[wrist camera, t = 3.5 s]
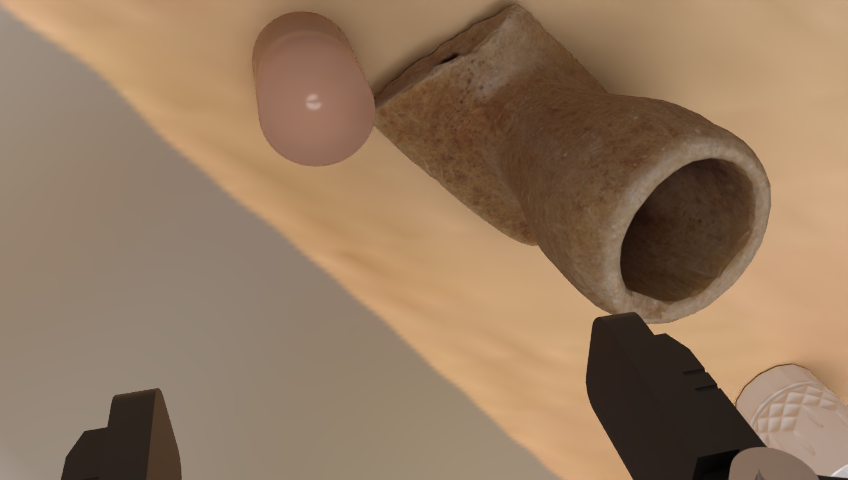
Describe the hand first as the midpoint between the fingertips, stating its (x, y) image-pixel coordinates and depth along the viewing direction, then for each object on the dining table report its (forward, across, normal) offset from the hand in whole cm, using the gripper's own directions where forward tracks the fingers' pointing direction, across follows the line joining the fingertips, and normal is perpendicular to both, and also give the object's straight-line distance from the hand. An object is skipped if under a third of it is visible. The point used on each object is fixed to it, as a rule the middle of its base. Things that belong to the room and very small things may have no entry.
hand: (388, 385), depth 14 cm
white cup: (+28, -35, +35) cm, 57 cm away
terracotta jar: (+28, 0, +3) cm, 28 cm away
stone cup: (+28, -12, +7) cm, 31 cm away
